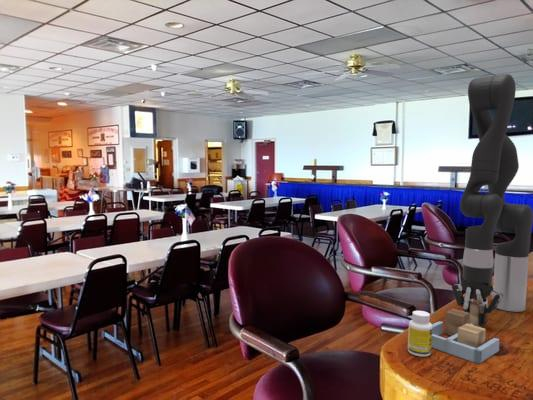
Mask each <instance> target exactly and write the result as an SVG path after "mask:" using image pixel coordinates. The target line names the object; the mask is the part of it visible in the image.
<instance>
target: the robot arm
mask: <svg viewBox="0 0 533 400" xmlns="http://www.w3.org/2000/svg"><path fill="white" fill-rule="evenodd" d="M467 88H468V89H467V96H468V102H469V103H468V104H469V108H470V110H471V111H470V112H471V114H472V118H473V120H474V124H475V128H476V132H477V136H478V143H477V145H476V146H475V147H474V150H473V152H472V153H473V154H472V156H471V165H470V173H469V179H468V180H467V183H466V186H465V189H464V191H463V193H462V195H461V199H460V200H459V201H460V202H459V209H460V212H461V213H462V215H464V216H465V217H467V218H477V219H483V223H482V224H481V225H472V226H468V227H467V228H466V229H465V236H464V237H465V238H464V239H465V240H464V243H465V244H464V251H463V258H462V262H463V263H462V281H461V282H460V283H456V284H452V285H451V289H452V292H453V295H454V298H455V301H456V304H457V305H458V306H459V307H460V306H461V307H462V308H463V311H464V312H468V313H470V303H471V302H474V300H476V301H477V303H478V305H479V309H480V313H479V327H484V326H485V325H487V322H488V321H487V319H488V314H492V313H493V312H495V311H496V309H499V310H502V311H506V312H515V313H517V312H519V313H520V312H524V311H526V305H527V304H526V302H527V290H528V289H527V287H528V270H529V268H528V267H529V256H530V254H529V253H530V248H531V239H532V238H531V237H532V230H533V209H532V207H531V206H530V205H528V204H519V203H507V202H506V200H505V194H506V191H507V189H508V187H509V186H510V184H511V183H512V182H513V180H514V179H515V177H516V175H517V173H518V172H519V168H520V166H519V157H518V150H517V146H516V145H515V143H514V142H513V140H512V139H511V138H510V137H509V136H508V135H507V131H508V126H509V123H510V118H511V116H512V111H513V107H514V103H515V97H516V82H515V79H514V77H513V76H512V74H509V73H503V74H495V75H494V74H493V75H487V76H482V77H481V76H480V77H476V78H473V79H471V81H469V84H468V87H467ZM490 110H495V114H494V116H492V113H491V111H490ZM486 186H487V189H488V192H480V190H481V189H482V188H483V187H486ZM496 231H497V232H501V233H507V234H515V236H514V238H513V239H512V240H509V241H504V242H499V243H497V244H496V246H495V252H494V236H495V232H496ZM494 253H495V254H494ZM494 255H495V256H494ZM493 269H494V270H493ZM492 282H493V284H492ZM463 292H464V294H463ZM464 295H465V296H464ZM490 295H491V297H490V298H491V302H490V303H489V305H488V297H489V296H490Z"/></svg>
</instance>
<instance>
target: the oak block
mask: <svg viewBox="0 0 533 400" xmlns="http://www.w3.org/2000/svg"><path fill="white" fill-rule="evenodd" d="M486 331H487V329H486V328H484V327H482V326H479V327H477V326H474V325H470V324H465V325H463V326H461V327H459V328H458V337H457V342H459V343H462V344H465V345H468V346H471V347H474V348H478V347H480V346H481V345H483V344H485V343H486Z"/></svg>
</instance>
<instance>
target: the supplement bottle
mask: <svg viewBox="0 0 533 400" xmlns="http://www.w3.org/2000/svg"><path fill="white" fill-rule="evenodd" d="M411 316H412V319H411V320H409V323H408V334H407V335H408V336H407V337H408V338H407V351H408V352H409V353H410V354H411V355H413V356H416V357H421V358H422V357H423V358H424V357H425V358H426V357H429V356H430V355H431V354H432V347H431V346H432V324H433V323H431V322H430V319H431V313H429V312H427V311H425V310H413V311H412V315H411Z"/></svg>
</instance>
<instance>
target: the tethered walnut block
mask: <svg viewBox="0 0 533 400" xmlns="http://www.w3.org/2000/svg"><path fill="white" fill-rule="evenodd" d="M479 313H480V309H479V305H478V301H477V302H476V301H475V302H474V301H473V302H471V303H470V313H468V312H464V310H458V309H456V308H451V309H449V310H447V311H445V327H444V334H445V335H449V336H450V337H451V336H453V335H455V334H457V333H458V328H459V327H461V326H463V325H465V324H470V325H474V326H477V327H480V326H479Z"/></svg>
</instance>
